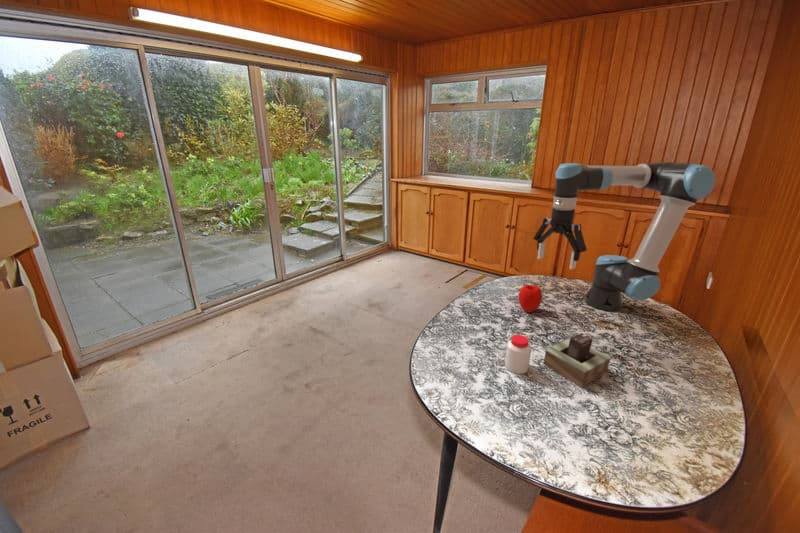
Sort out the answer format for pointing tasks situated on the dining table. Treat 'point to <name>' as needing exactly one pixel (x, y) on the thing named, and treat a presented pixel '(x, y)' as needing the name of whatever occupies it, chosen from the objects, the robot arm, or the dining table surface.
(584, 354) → the box
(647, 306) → the dining table surface
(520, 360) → the pill bottle
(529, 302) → the apple
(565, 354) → the socket block
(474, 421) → the dining table surface
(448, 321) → the dining table surface
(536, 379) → the dining table surface
